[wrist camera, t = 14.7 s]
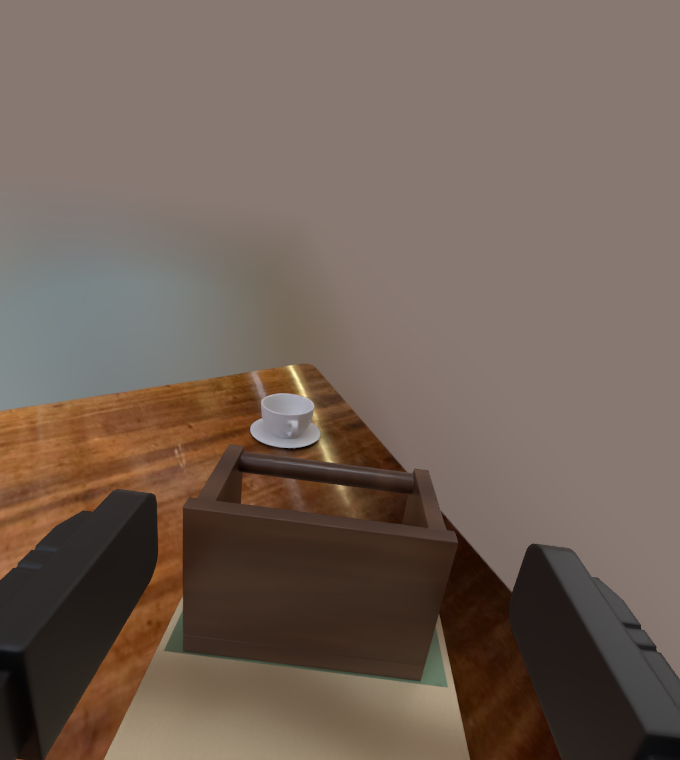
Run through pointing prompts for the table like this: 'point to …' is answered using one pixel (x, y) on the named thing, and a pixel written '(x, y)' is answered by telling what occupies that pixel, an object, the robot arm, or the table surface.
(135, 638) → the table surface
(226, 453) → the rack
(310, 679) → the board
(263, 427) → the teacup
